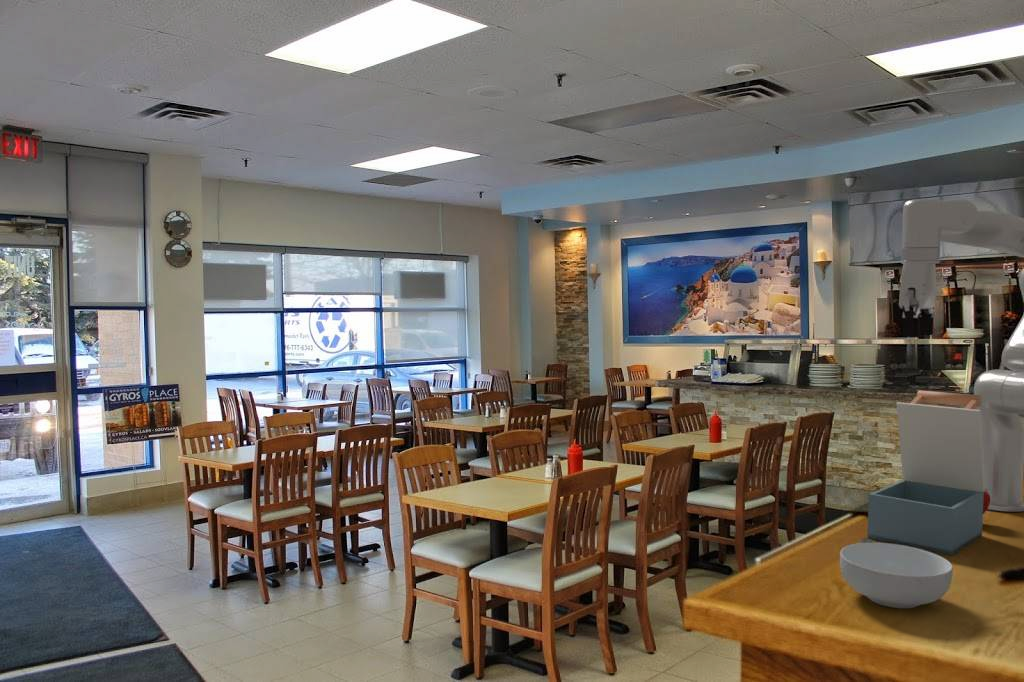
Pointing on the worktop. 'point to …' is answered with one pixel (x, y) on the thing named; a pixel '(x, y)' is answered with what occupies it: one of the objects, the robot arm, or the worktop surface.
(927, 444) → the flap
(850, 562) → the cereal bowl
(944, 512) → the carton
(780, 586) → the worktop surface
